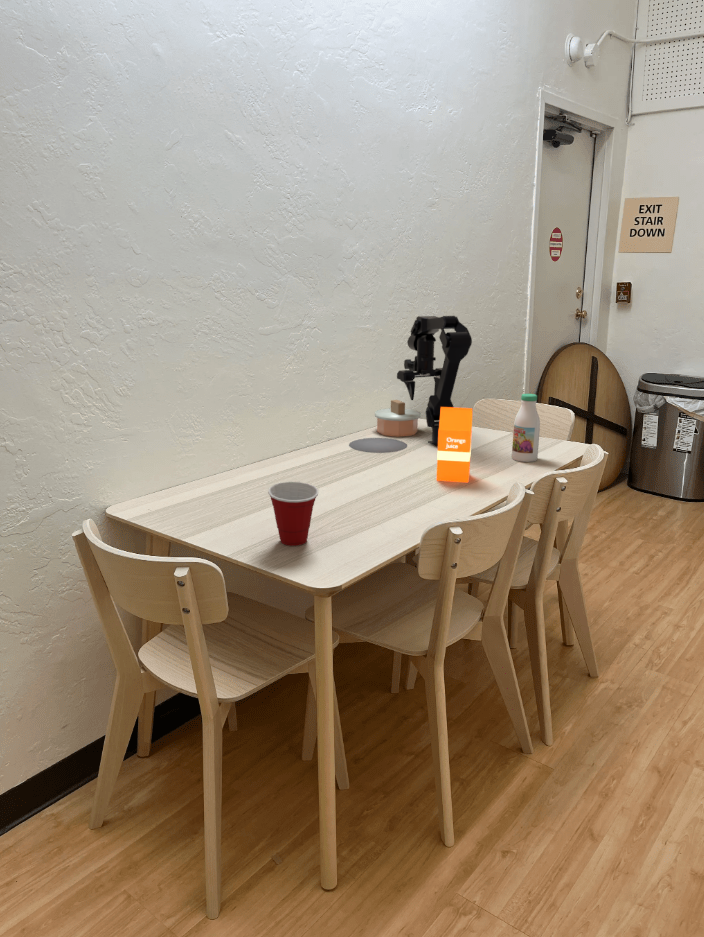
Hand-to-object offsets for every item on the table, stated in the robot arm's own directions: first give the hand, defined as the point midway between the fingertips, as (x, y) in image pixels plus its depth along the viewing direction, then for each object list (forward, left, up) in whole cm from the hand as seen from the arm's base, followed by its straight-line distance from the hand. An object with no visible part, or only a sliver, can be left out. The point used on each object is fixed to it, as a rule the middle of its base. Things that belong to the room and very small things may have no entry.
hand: (423, 399), depth 246 cm
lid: (+4, +8, -6) cm, 11 cm away
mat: (-10, +22, -12) cm, 27 cm away
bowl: (+4, +8, -12) cm, 15 cm away
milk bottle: (-41, -13, -12) cm, 45 cm away
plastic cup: (-76, +73, -12) cm, 106 cm away
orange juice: (-49, +17, -12) cm, 53 cm away
